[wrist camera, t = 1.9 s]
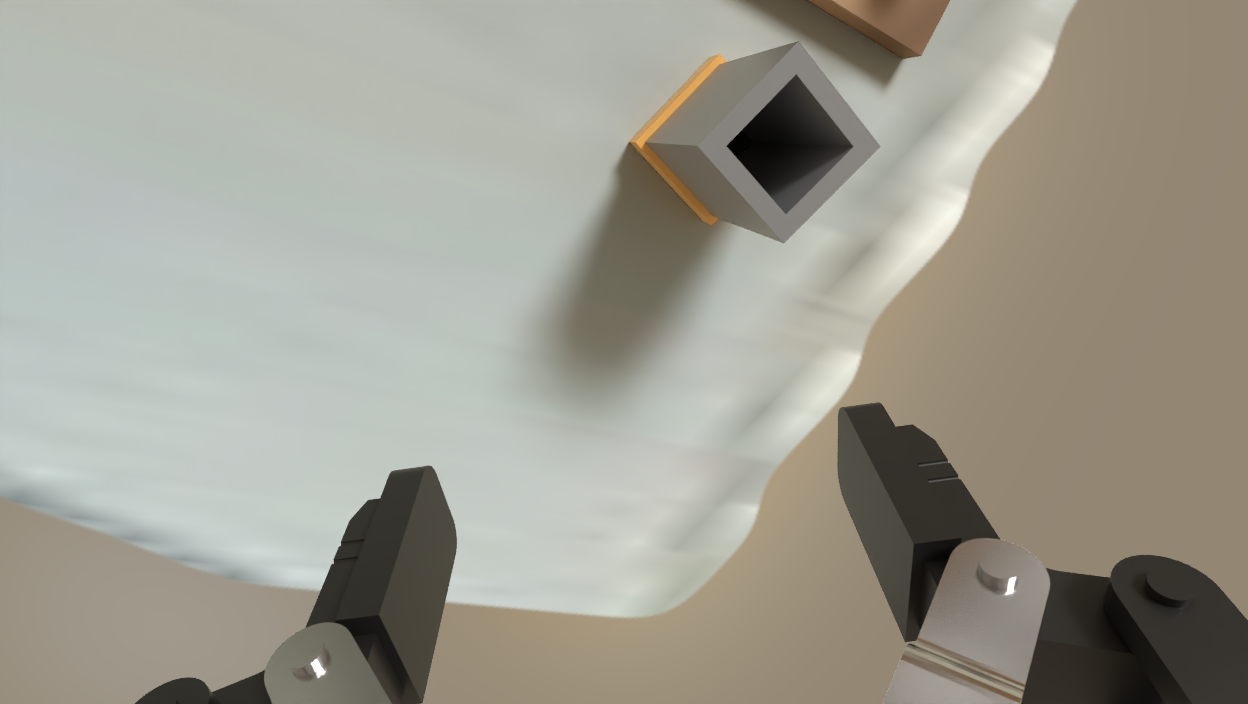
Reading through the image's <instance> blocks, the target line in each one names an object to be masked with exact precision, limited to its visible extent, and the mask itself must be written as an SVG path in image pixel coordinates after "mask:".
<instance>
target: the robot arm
mask: <svg viewBox="0 0 1248 704" xmlns="http://www.w3.org/2000/svg"><path fill="white" fill-rule="evenodd" d="M838 478H839V484H840V489H841V492H842V496H843V499H844V501H845V504H846V506H847V508H848V511H849V513H850V515H851V518H852V520H853V522H854V524H855V527H856V529H857V532H858V534H859V536H860V539H861V541H862V543H863V546H864V548H865V550H866V553H867V555H868V557H869V559H870V562H871V564H872V566H873V569H874V571H875V573H876V576H877V578H878V580H879V582H880V585H881V587H882V590H883V592H884V594H885V597H886V599H887V601H888V604H889V606H890V608H891V610H892V613H893V615H894V617H895V620H896V622H897V624H898V627H899V629H900V631H901V634H902V636H903V638H904V641H905V642H909V641H916V642H915V644H914V645H912V644H908V646H907V647H906V649H905V651H904V653H903V655H902V657H901V659H900V662H899V664H898V667H897V669H896V672H895V674H894V676H893V679H892V681H891V684H890V686H889V689H888V692H887V694H886V696H885V699H884V701H883V703H882V704H1248V620H1247V619H1246V618H1245V617H1244V616H1243V614H1242V613H1241V612H1240V611H1239V610H1238V609H1237V607H1236V606H1235V605H1234V604H1233V603H1232V602H1231V601H1230V599H1229V598H1228V597H1227V596H1226V595H1225V593H1224V592H1223V591H1222V590H1221V589H1220V588H1219V587H1218V586H1217V585H1216V584H1215V583H1214V582H1213V581H1212V580H1211V579H1210V578H1208V577H1207V576H1206V575H1204V574H1203V573H1201V572H1200V571H1198V570H1197V569H1195V568H1192V567H1191V566H1189V565H1187V564H1184V563H1182V562H1179V561H1176V560H1173V559H1170V558H1166V557H1161V556H1153V555H1138V556H1131V557H1128V558H1125V559H1123V560H1121V561H1120V562H1118V563H1117V564H1116V565H1115V566H1114V568H1113V570H1112V572H1111V576H1110V578H1108V577H1100V576H1092V575H1084V574H1077V573H1069V572H1061V571H1056V570H1051V569H1048V568H1045V567H1044V565H1043V564H1042V563H1041V562H1040V561H1039V560H1038V559H1037V558H1036V557H1035V556H1034V555H1033V554H1032V553H1030V552H1029V551H1027V550H1025V549H1024V548H1022V547H1020V546H1018V545H1016V544H1013V543H1011V542H1008V541H1004V540H1001V539H1000V538H999V537H998V535H997V534H996V532H995V531H994V529H993V528H992V526H991V525H990V523H989V522H988V520H987V519H986V517H985V516H984V514H983V512H982V511H981V509H980V508H979V506H978V505H977V503H976V502H975V500H974V499H973V497H972V496H971V495H970V493H969V491H968V490H967V488H966V487H965V485H964V484H963V482H962V481H961V480H960V479H959V478H958V474H957V473H956V471H955V470H954V468H953V467H952V465H951V464H950V463H948V459H947V458H946V456H945V455H944V453H943V452H942V450H941V449H940V447H939V446H938V444H937V443H936V441H935V440H934V439H933V438H931V437H930V436H928V435H927V434H925V433H924V432H923V431H921V430H920V429H918V428H917V427H915V426H914V425H906V426H898V427H895V425H894V423H893V422H892V420H891V418H890V417H889V415H888V413H887V412H886V410H885V408H884V407H883V405H882V404H881V403H871V404H864V405H856V406H849V407H842V408H840V409H839V414H838ZM456 548H457V537H456V529H455V524H454V520H453V518H452V515H451V512H450V509H449V507H448V504H447V501H446V499H445V496H444V493H443V491H442V488H441V485H440V482H439V480H438V477H437V474H436V472H435V470H434V469H433V467H431V466H424V467H416V468H409V469H402V470H395V471H392V472H391V473H390V475H389V477H388V479H387V482H386V485H385V487H384V490H383V493H382V495H381V498H380V499H373V500H368V501H367V502H366V503H365V504H364V505H363V506H362V507H361V509H360V510H359V511H358V512H357V513H356V514H355V515H354V516H353V518H352V519H351V520H350V521H349V524H348V526H347V529H346V531H345V533H344V536H343V538H342V541H341V546H339V548H338V550H337V553H336V555H335V558H334V564H332V565H331V567H330V570H329V572H328V574H327V577H326V579H325V582H324V584H323V587H322V589H321V591H320V594H319V596H318V599H317V601H316V604H315V606H314V609H313V611H312V613H311V616H310V618H309V621H308V623H307V625H306V628H304V629H302V630H301V631H299V632H297V633H295V634H294V635H293V636H291V637H290V638H288V639H287V640H286V641H285V642H284V643H282V645H281V646H280V647H279V648H278V649H277V650H276V651H275V653H274V654H273V655H272V657H271V658H270V660H269V662H268V664H267V667H266V669H265V670H264V671H262V672H260V673H258V674H256V675H254V676H251V677H249V678H246V679H244V680H241V681H239V682H236V683H234V684H231V685H229V686H226V687H224V688H221V689H219V690H216V691H214V692H211V691H210V689H209V688H208V687H207V685H206V684H205V683H204V682H203V681H201V680H199V679H196V678H180V679H176V680H172V681H170V682H167V683H165V684H163V685H161V686H159V687H157V688H155V689H153V690H152V691H150V692H149V693H147V694H146V695H145V696H143V697H142V698H141V699H139V700H138V701H137V702H136V703H135V704H420V703H423V698H424V693H425V689H426V685H427V680H428V676H429V671H430V667H431V663H432V658H433V653H434V649H435V644H436V640H437V636H438V631H439V627H440V622H441V618H442V613H443V609H444V604H445V600H446V595H447V591H448V586H449V582H450V577H451V573H452V568H453V564H454V559H455V555H456Z"/></svg>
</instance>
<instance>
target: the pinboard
mask: <svg viewBox="0 0 1248 704" xmlns="http://www.w3.org/2000/svg"><path fill="white" fill-rule="evenodd" d="M808 1H810V2H811V3H813V4H815V5H816V6H818V7H820V8H821V9H823V10H824V11H826V12H828V13H829V14H831V15H833V16H834V17H836V18H838V19H839V20H841V21H842V22H844V23H846V24H847V25H849V26H851V27H852V28H854V29H856V30H857V31H859V32H860V33H862V34H864V35H865V36H867V37H869V38H870V39H872V40H873V41H875V42H877V43H878V44H880V45H882V46H883V47H885V48H887V49H888V50H890V51H891V52H893V53H895V54H896V55H898V56H900V57H901V58H903V59H905V58H911V57H916V56H921V55H922V53H923V51H924V49H925V48H926V46H927V44H928V42H929V40H930V38H931V36H932V34H933V32H934V30H935V28H936V26H937V25H938V23H939V21H940V19H941V17H942V15H943V13H944V11H945V9H946V7H947V5H948V3H949V2H950V0H808Z"/></svg>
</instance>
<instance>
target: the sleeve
mask: <svg viewBox="0 0 1248 704" xmlns="http://www.w3.org/2000/svg"><path fill="white" fill-rule="evenodd" d="M741 130H742V131H743V132H744V133H745V134H746V135H747V136H748V138H749V139H750V140H751V141H752V143H751V144H750V145H749V146H748V148H747V149H746V150H745V151H744V152H743V153H742V154H741V155H740V156H739V157H738V158H736V157H735V155H734V154H733V153H732V152H731V151H730V150H729V149H728V147H727V145H728V144H729V143H730V142H731V141H732V140H733V139H734V137H735V136H736V135H737V134H738V133H739V132H740V131H741ZM629 142H630V143H631V144H632V145H633V146H634V147H635V149H636V150H637V151H638V152H639V153H640V154H641V155H642V156H643V157H644V158H645V159H646V160H647V161H648V163H649V164H650V165H651V166H652V167H653V168H654V169H655V170H656V171H657V172H658V173H659V174H660V175H661V177H662V178H663V179H664V180H665V181H666V182H667V183H668V184H669V185H670V186H671V187H672V188H673V189H674V191H675V192H676V193H677V194H678V195H679V196H680V197H681V198H682V199H683V200H684V201H685V202H686V203H687V205H688V206H689V207H690V208H691V209H692V210H693V211H694V212H695V213H696V214H697V215H698V216H699V217H700V219H701V220H702V221H703V222H706V223H708V224H710V225H713V224H714V223H715V222H716V221H717V220H718V219H722V220H724V221H727V222H730V223H732V224H735V225H737V226H740V227H743V228H745V229H748V230H751V231H753V232H756V233H758V234H761V235H764V236H766V237H769V238H772V239H774V240H777V241H779V242H782V243H785V242H786V241H787V240H788V239H789V238H790V237H791V236H792V235H793V234H794V233H795V232H796V231H797V230H798V229H799V228H800V227H801V226H802V225H803V224H804V223H805V222H806V221H807V220H808V219H809V218H810V217H811V216H812V215H813V214H814V213H815V212H816V211H817V210H818V209H819V208H820V207H821V206H822V205H823V204H824V203H825V202H826V201H827V200H828V199H829V198H830V197H831V196H832V195H833V194H834V193H835V192H836V191H837V190H838V189H839V188H840V187H841V186H842V185H843V184H844V183H845V182H846V181H847V180H848V179H849V178H850V177H851V176H852V175H853V174H854V173H855V172H856V171H857V170H858V169H859V168H860V167H861V166H862V165H863V164H864V163H865V162H866V161H867V160H868V159H869V158H870V157H871V156H872V155H873V154H874V153H875V152H876V151H877V150H878V149H879V148H880V145H879V144H878V143H877V141H876V140H875V139H874V138H873V136H872V135H871V134H870V132H869V131H868V130H867V129H866V127H865V126H864V125H863V123H862V122H861V121H860V120H859V118H858V117H857V116H856V114H855V113H854V112H853V111H852V109H851V108H850V107H849V105H848V104H847V103H846V102H845V100H844V99H843V98H842V96H841V95H840V94H839V92H838V91H837V90H836V89H835V87H834V86H833V85H832V83H831V82H830V81H829V80H828V78H827V77H826V76H825V74H824V73H823V72H822V71H821V69H820V68H819V67H818V65H817V64H816V63H815V62H814V60H813V59H812V58H811V56H810V55H809V54H808V52H807V51H806V50H805V49H804V47H803V46H802V45H801V43H800V42H799V41H798V42H794V43H791V44H787V45H784V46H781V47H777V48H774V49H770V50H767V51H764V52H760V53H757V54H753V55H750V56H747V57H743V58H740V59H736V60H733V61H730V62H726V61H725V60H724V58H723V57H722V56H721V55H720V54H718V55H715V56H712V57H710V58H709V59H708V60H707V61H706V62H705V63H704V64H703V65H702V66H701V67H700V68H699V69H698V70H697V71H696V72H695V73H694V74H693V75H692V76H691V77H690V79H689V80H688V81H687V82H686V83H685V84H684V85H683V86H682V87H681V88H680V89H679V90H678V91H677V92H676V93H675V94H674V95H673V96H672V97H671V98H670V99H669V100H668V102H667V103H666V104H665V105H664V106H663V107H662V108H661V109H660V110H659V111H658V112H657V113H656V114H655V115H654V116H653V117H652V118H651V119H650V120H649V121H648V122H647V123H646V124H645V126H644V127H643V128H642V129H641V130H640V131H639V132H638V133H637V134H636V135H635V136H634V137H633V138H632V139H631V140H630V141H629Z"/></svg>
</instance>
